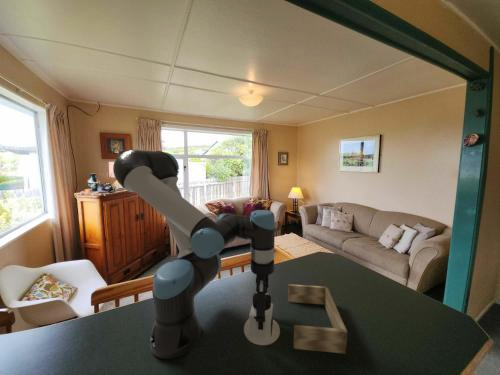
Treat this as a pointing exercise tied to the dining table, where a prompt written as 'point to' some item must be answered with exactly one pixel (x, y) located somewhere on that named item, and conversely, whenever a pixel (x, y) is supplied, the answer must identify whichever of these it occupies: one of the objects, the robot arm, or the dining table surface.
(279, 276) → the dining table surface
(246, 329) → the saucer
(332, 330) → the cubby
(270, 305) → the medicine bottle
